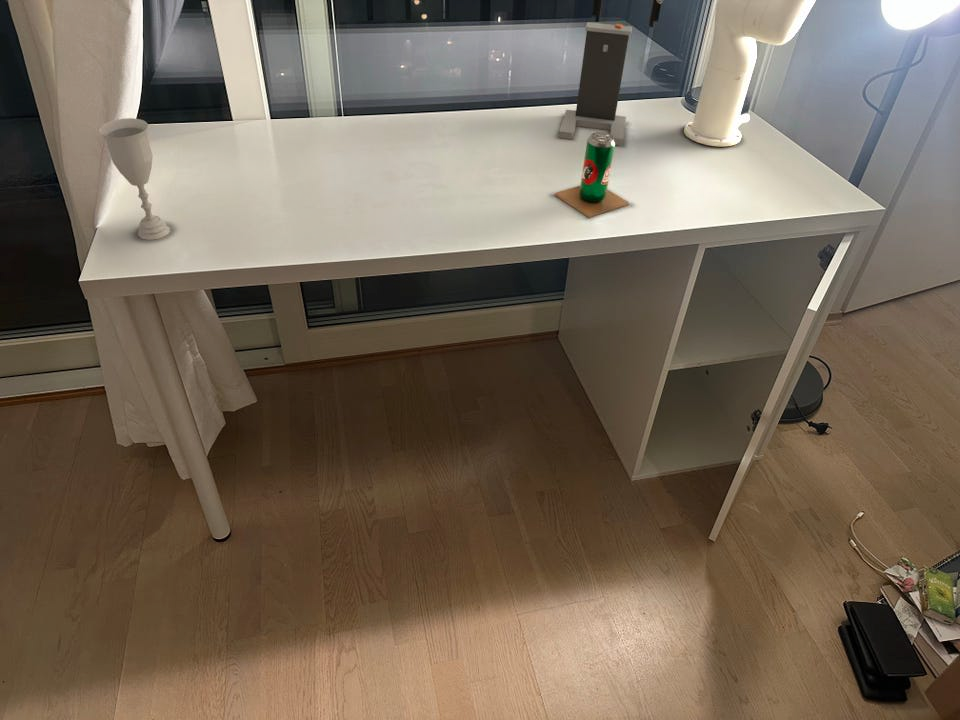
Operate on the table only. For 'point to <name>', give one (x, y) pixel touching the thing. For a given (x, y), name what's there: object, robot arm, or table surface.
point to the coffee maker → (600, 82)
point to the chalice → (134, 166)
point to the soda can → (597, 167)
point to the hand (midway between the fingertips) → (624, 22)
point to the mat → (591, 208)
